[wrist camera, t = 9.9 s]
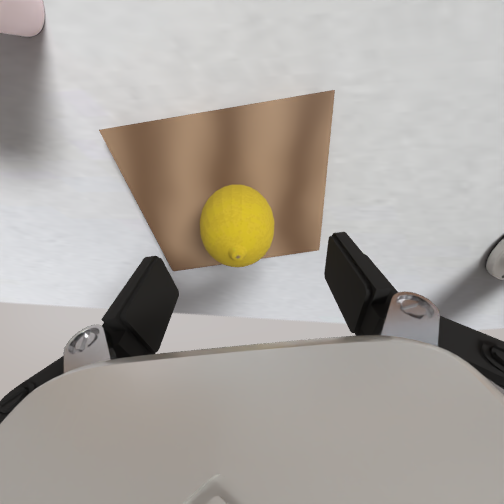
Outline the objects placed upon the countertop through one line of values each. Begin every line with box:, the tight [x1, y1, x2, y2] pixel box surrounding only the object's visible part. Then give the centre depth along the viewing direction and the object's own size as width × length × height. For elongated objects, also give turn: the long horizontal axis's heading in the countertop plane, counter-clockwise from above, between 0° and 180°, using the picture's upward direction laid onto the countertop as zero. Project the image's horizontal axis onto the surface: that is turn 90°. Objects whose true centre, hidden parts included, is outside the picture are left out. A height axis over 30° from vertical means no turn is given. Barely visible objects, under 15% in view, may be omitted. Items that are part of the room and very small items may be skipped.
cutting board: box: [99, 90, 335, 271], centre depth 18 cm, size 17×14×2 cm
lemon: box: [200, 185, 274, 267], centre depth 14 cm, size 6×6×8 cm
